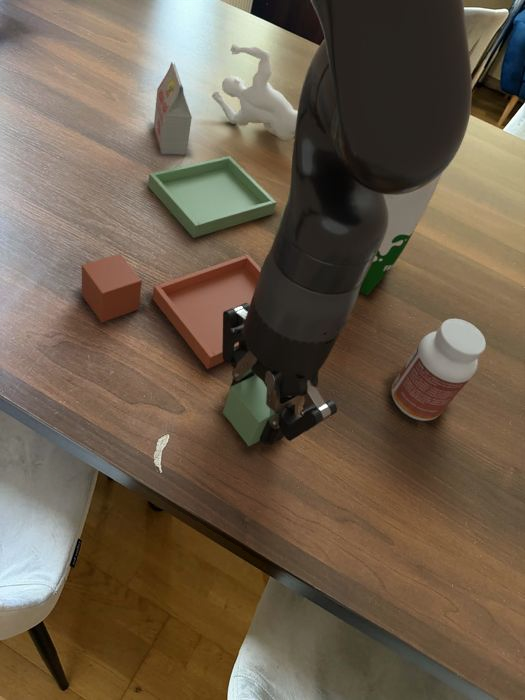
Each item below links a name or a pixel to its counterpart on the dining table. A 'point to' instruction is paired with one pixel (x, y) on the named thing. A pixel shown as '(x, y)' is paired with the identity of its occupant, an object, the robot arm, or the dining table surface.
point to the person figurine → (258, 99)
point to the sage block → (248, 408)
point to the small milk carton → (172, 115)
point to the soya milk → (398, 230)
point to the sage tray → (211, 195)
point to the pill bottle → (438, 369)
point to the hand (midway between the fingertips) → (254, 418)
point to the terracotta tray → (207, 303)
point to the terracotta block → (111, 287)
